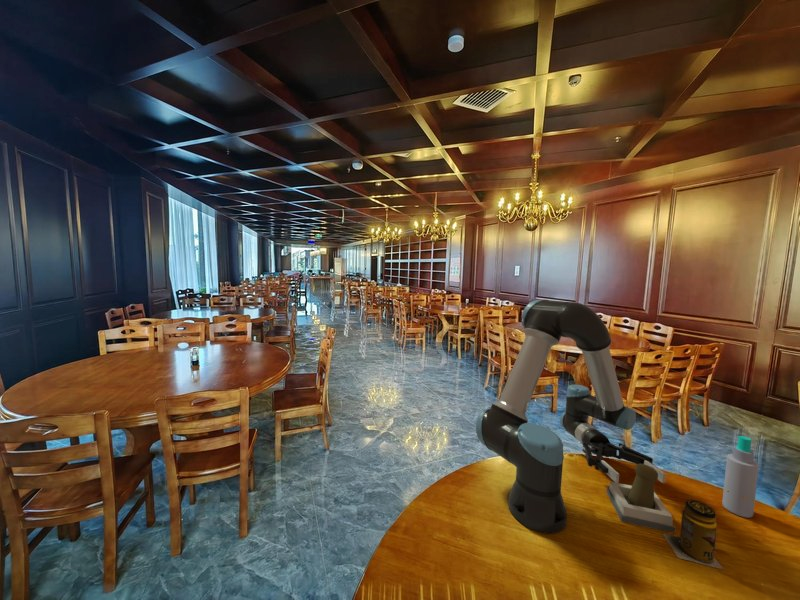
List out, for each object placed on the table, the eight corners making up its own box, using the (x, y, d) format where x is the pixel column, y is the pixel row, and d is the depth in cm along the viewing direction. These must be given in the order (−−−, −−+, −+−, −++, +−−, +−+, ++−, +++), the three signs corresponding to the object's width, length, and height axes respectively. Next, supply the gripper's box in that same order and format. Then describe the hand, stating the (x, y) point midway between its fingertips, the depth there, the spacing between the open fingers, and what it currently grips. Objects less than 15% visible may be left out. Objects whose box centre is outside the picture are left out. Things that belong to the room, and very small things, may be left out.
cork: (658, 514, 84) (665, 475, 83) (632, 506, 85) (640, 468, 85) (647, 500, 89) (654, 464, 89) (623, 493, 91) (630, 458, 91)
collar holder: (621, 521, 83) (622, 507, 83) (606, 492, 95) (607, 480, 94) (674, 533, 80) (676, 519, 79) (652, 501, 91) (653, 489, 91)
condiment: (723, 569, 70) (728, 520, 69) (678, 558, 72) (682, 511, 71) (702, 543, 77) (707, 498, 76) (662, 534, 79) (666, 491, 78)
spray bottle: (755, 522, 84) (764, 446, 82) (724, 511, 88) (731, 438, 86) (749, 509, 89) (757, 437, 87) (720, 499, 92) (727, 430, 91)
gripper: (625, 449, 109) (682, 490, 87) (557, 449, 108) (597, 490, 87) (627, 429, 108) (684, 466, 87) (558, 428, 107) (599, 465, 86)
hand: (641, 478), depth 87 cm, fingers open, 13 cm apart
